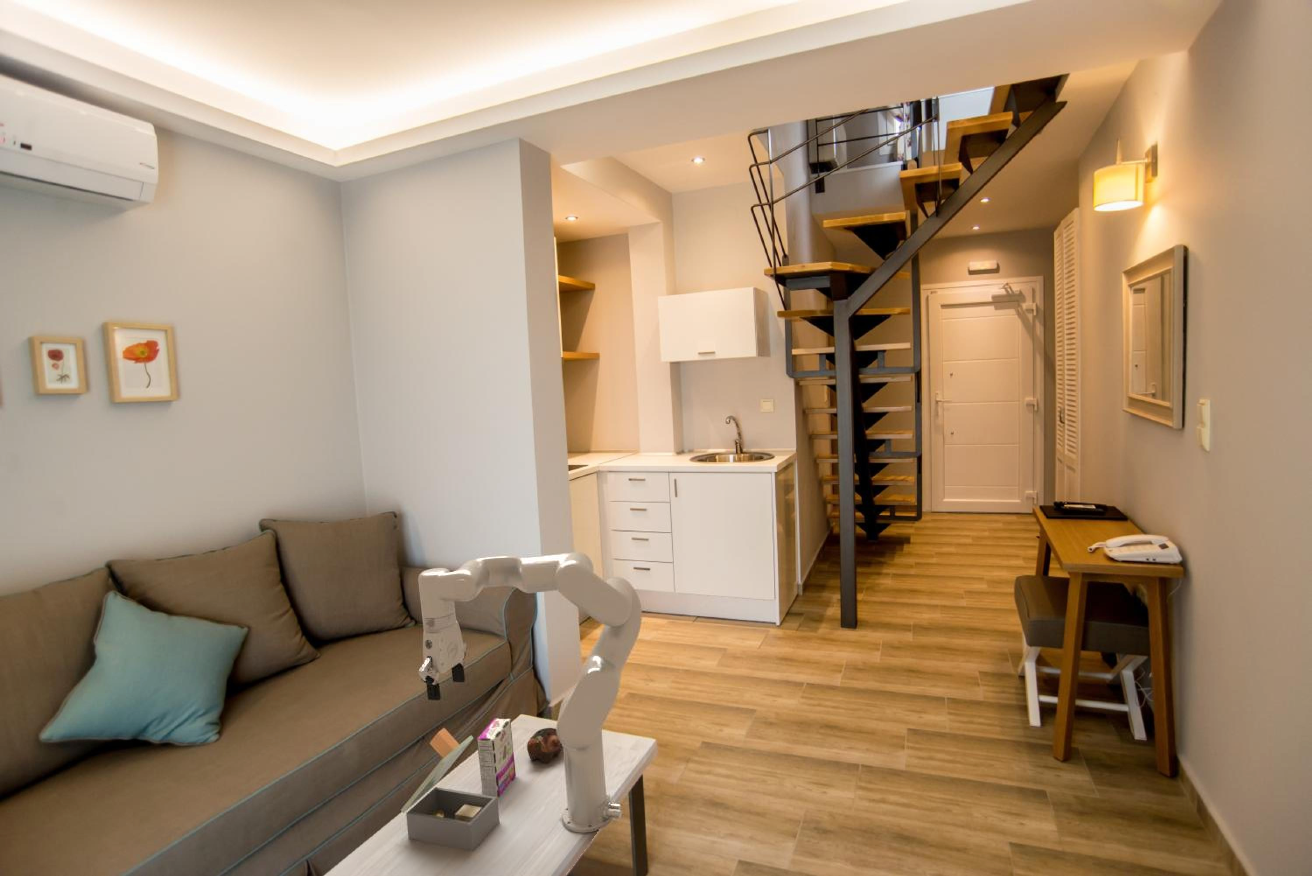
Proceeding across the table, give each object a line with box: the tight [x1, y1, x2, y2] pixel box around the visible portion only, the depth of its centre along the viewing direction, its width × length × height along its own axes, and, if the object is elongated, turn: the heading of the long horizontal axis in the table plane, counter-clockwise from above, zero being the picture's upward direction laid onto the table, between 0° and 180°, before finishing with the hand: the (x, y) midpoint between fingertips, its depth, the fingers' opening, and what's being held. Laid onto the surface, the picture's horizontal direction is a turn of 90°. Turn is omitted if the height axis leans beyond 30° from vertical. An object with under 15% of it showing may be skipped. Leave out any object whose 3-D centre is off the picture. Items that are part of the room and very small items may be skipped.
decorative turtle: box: [526, 727, 563, 764], centre depth 198 cm, size 10×15×8 cm, turn 157°
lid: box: [400, 727, 474, 814], centre depth 166 cm, size 19×12×6 cm
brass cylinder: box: [428, 810, 444, 818], centre depth 165 cm, size 4×4×4 cm
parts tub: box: [405, 786, 500, 852], centre depth 165 cm, size 18×11×7 cm, turn 70°
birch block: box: [455, 804, 482, 822], centre depth 166 cm, size 5×4×4 cm
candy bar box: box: [476, 717, 517, 798], centre depth 183 cm, size 11×5×16 cm, turn 168°
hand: (447, 690), depth 165 cm, fingers open, 9 cm apart
